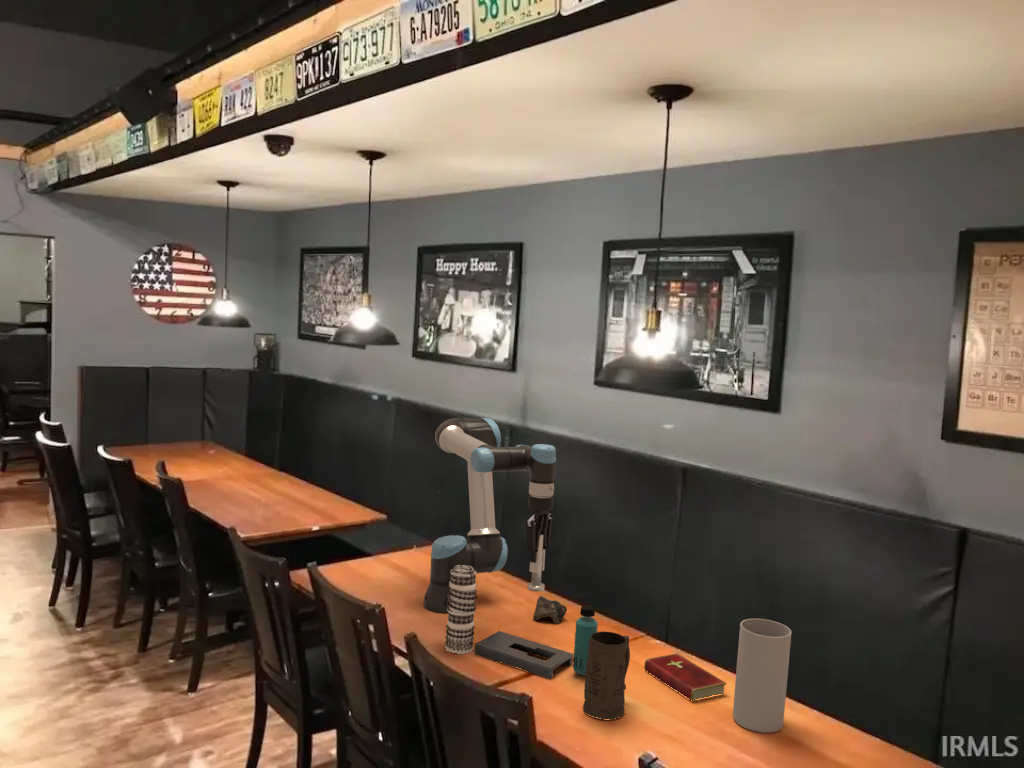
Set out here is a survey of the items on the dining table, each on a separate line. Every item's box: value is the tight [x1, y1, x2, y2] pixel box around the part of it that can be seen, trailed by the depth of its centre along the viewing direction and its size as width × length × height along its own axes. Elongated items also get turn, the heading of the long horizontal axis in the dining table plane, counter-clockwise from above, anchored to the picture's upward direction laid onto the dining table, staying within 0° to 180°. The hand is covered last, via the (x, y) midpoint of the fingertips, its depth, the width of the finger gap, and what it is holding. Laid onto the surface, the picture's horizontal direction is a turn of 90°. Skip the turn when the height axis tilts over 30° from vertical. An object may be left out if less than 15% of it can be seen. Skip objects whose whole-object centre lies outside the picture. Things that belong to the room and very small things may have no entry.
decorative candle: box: [444, 565, 479, 655], centre depth 245 cm, size 9×9×25 cm
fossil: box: [532, 595, 568, 625], centre depth 273 cm, size 11×9×10 cm
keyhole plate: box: [473, 630, 574, 680], centre depth 241 cm, size 26×13×3 cm, turn 57°
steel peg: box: [527, 533, 546, 592], centre depth 251 cm, size 5×5×17 cm
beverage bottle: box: [572, 604, 599, 676], centre depth 231 cm, size 6×7×20 cm
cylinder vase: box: [732, 618, 792, 734], centre depth 210 cm, size 12×12×25 cm
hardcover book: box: [643, 652, 727, 701], centre depth 231 cm, size 12×21×4 cm, turn 28°
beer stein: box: [582, 631, 631, 719], centre depth 213 cm, size 15×11×20 cm
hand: (536, 570), depth 251 cm, fingers closed on steel peg, 3 cm apart
